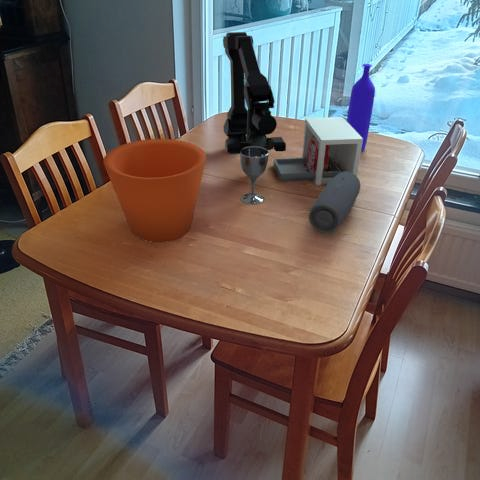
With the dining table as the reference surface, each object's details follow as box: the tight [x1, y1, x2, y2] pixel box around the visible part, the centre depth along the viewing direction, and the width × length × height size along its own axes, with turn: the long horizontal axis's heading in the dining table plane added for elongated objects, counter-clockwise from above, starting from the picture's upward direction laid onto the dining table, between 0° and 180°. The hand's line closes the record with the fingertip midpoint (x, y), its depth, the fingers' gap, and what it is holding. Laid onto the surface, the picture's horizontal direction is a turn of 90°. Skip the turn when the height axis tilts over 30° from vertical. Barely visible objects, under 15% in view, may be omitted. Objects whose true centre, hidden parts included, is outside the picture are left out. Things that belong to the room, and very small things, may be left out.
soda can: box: [306, 136, 330, 172], centre depth 156 cm, size 7×7×12 cm
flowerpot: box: [102, 138, 207, 243], centre depth 123 cm, size 25×25×20 cm
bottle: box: [346, 63, 376, 152], centre depth 170 cm, size 8×8×30 cm
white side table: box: [301, 116, 363, 186], centre depth 156 cm, size 13×20×15 cm, turn 8°
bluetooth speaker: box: [308, 171, 361, 234], centre depth 132 cm, size 23×9×10 cm, turn 155°
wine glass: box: [239, 146, 269, 205], centre depth 138 cm, size 8×8×15 cm
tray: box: [273, 157, 343, 182], centre depth 158 cm, size 20×12×2 cm, turn 97°
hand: (254, 169), depth 156 cm, fingers closed
